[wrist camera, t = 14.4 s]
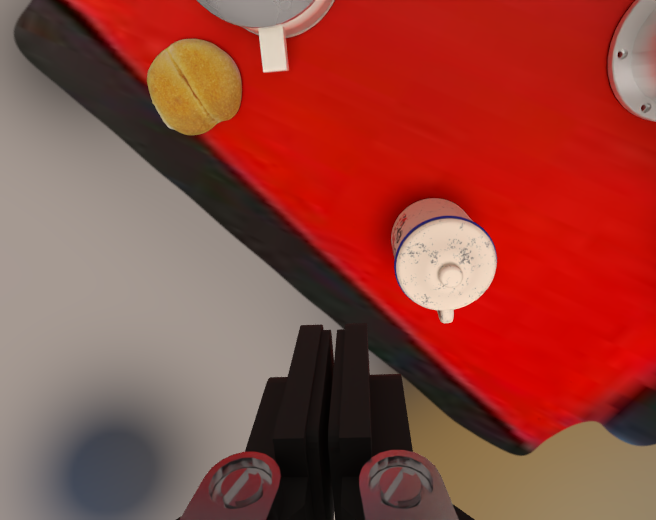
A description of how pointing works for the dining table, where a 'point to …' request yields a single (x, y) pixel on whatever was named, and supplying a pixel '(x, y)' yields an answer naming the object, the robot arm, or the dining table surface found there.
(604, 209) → the dining table surface
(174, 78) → the bread roll
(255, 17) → the lid
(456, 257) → the teacup with lid
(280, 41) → the pot
